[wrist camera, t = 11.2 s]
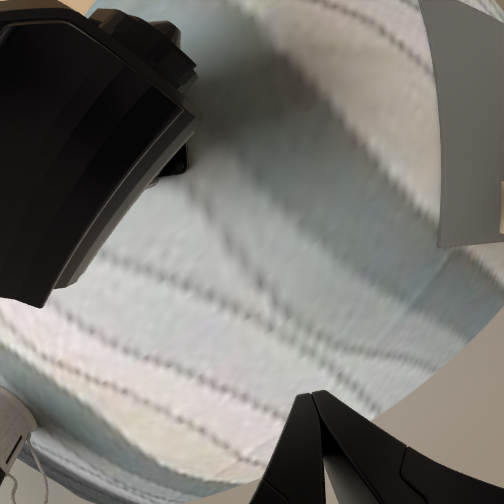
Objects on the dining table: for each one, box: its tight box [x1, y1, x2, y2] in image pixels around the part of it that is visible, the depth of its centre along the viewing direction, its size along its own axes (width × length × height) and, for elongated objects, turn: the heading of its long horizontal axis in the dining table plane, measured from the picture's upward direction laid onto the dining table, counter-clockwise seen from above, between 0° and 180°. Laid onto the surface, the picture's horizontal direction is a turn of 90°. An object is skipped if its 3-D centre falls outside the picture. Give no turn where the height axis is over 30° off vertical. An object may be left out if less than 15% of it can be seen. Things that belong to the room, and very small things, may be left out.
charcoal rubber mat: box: [418, 0, 504, 248], centre depth 17 cm, size 22×14×1 cm, turn 4°
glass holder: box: [0, 386, 48, 504], centre depth 19 cm, size 9×14×15 cm, turn 57°
